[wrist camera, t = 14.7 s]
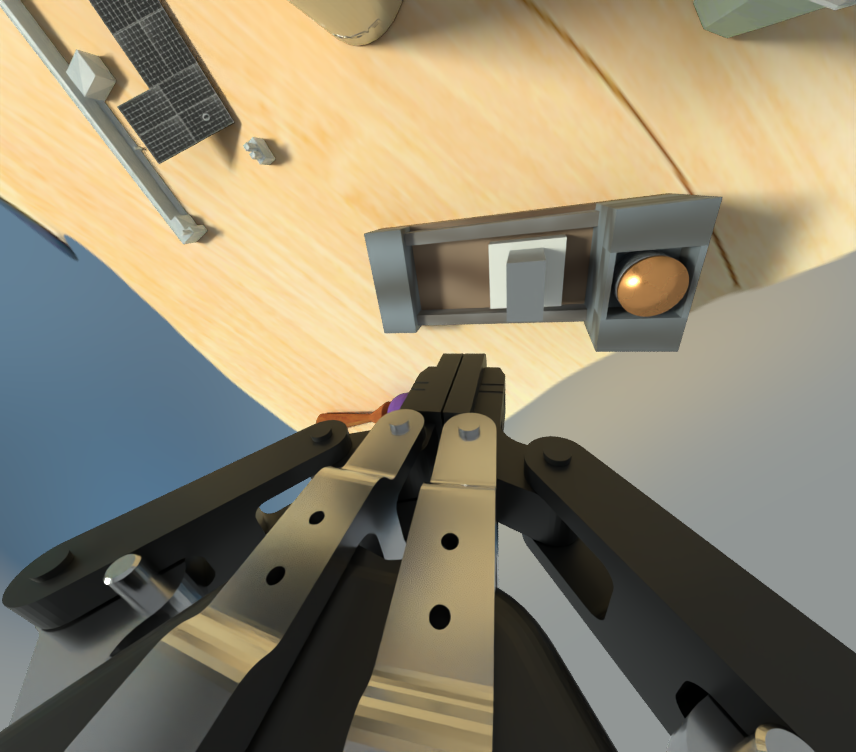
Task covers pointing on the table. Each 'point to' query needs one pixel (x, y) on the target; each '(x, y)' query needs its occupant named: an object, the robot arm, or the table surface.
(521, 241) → the carriage
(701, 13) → the disposable coffee cup
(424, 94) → the table surface
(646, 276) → the button
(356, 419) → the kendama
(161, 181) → the paper cutter
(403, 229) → the grey stepped base
